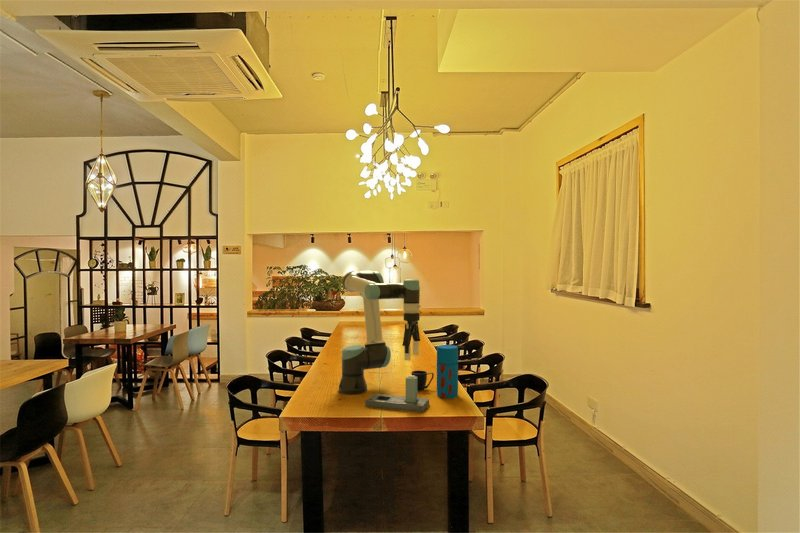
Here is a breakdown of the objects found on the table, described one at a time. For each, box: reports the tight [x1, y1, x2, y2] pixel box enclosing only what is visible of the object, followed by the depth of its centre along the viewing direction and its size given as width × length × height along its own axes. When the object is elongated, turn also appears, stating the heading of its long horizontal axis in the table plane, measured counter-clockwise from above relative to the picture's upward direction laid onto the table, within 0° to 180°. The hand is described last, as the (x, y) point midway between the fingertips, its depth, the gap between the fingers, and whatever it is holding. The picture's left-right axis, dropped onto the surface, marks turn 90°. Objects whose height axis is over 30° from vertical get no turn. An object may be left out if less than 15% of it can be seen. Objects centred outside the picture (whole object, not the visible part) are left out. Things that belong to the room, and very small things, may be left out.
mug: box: [411, 370, 435, 392], centre depth 242 cm, size 8×12×10 cm
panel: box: [364, 393, 430, 414], centre depth 214 cm, size 28×12×3 cm, turn 72°
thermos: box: [436, 344, 459, 400], centre depth 231 cm, size 11×11×25 cm
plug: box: [405, 374, 418, 403], centre depth 212 cm, size 4×4×15 cm
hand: (411, 357), depth 212 cm, fingers open, 13 cm apart
